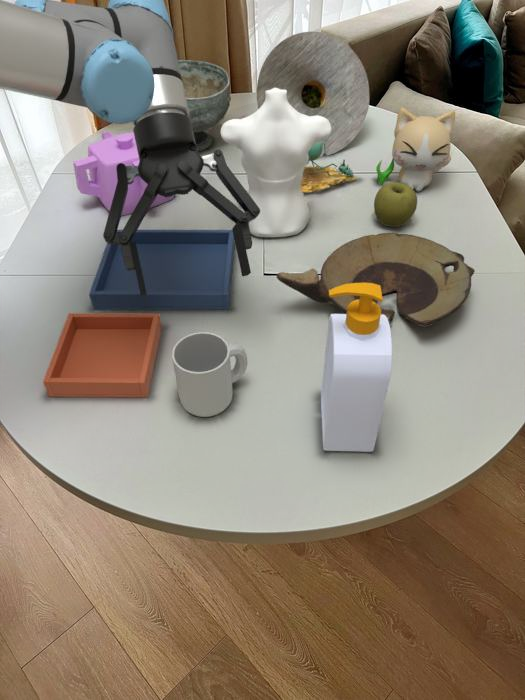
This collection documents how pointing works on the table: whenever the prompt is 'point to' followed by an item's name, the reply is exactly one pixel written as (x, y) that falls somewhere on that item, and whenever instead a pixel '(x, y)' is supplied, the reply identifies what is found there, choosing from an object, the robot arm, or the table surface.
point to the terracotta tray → (104, 356)
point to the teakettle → (112, 171)
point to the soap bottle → (355, 371)
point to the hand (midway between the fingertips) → (196, 284)
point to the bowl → (205, 97)
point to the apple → (395, 204)
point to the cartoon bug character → (323, 172)
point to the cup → (206, 372)
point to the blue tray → (168, 271)
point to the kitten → (419, 147)
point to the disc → (319, 83)
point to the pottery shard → (392, 276)
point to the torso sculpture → (276, 161)
